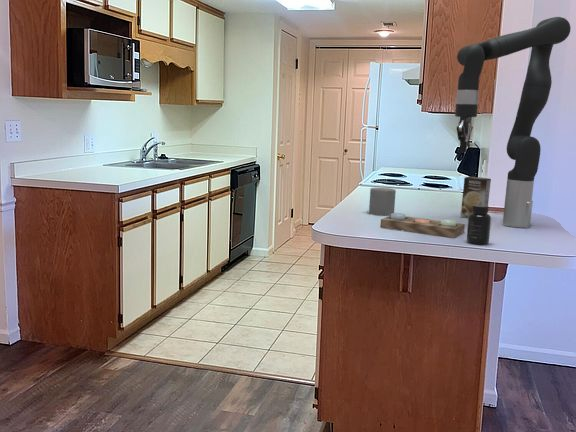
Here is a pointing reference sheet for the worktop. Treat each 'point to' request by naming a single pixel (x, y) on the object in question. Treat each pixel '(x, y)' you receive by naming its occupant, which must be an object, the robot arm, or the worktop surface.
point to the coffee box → (474, 194)
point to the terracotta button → (422, 221)
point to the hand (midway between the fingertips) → (462, 152)
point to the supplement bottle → (479, 225)
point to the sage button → (448, 223)
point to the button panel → (423, 226)
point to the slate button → (398, 216)
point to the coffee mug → (382, 201)
